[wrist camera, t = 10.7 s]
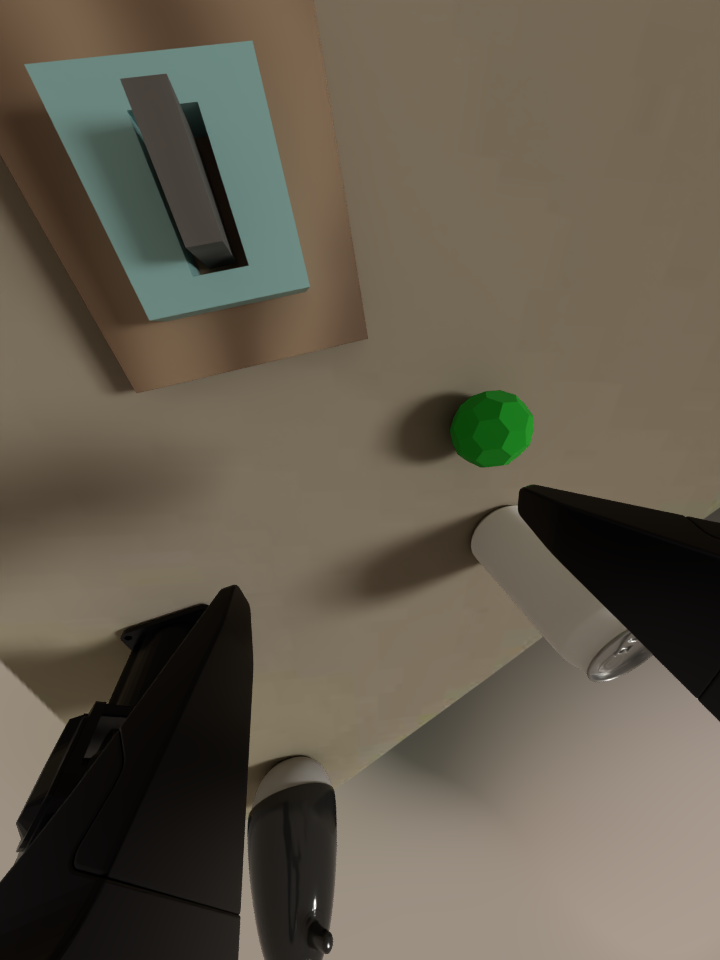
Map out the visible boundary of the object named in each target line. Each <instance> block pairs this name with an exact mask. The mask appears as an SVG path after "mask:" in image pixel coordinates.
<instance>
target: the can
mask: <svg viewBox="0 0 720 960" xmlns="http://www.w3.org/2000/svg"><path fill="white" fill-rule="evenodd" d="M471 550H472V553H473V555H474V556H475V557H476V559H477V560H478V561H479V562H480V563H481V565H482V566H483V567H484V568H485V569H486V570H487V572H488V573H489V574H490V575H491V576H492V577H493V579H494V580H495V581H496V582H497V583H498V584H499V586H500V587H501V588H502V589H503V590H504V591H505V593H506V594H507V595H508V596H509V597H510V598H511V600H512V601H513V602H514V603H515V604H516V605H517V607H518V608H519V609H520V610H521V611H522V612H523V613H524V615H525V616H526V617H527V618H528V619H529V620H530V622H531V623H532V624H533V625H534V626H535V627H536V629H537V630H538V631H539V632H540V633H541V634H542V635H543V637H544V638H545V639H546V640H547V641H548V642H549V643H550V644H551V646H552V647H553V648H554V649H555V650H556V651H557V652H558V654H559V655H560V656H561V657H562V658H563V659H564V660H566V661H567V662H569V663H570V664H572V665H574V666H576V667H577V668H579V669H581V670H582V671H584V672H585V673H586V674H587V676H588V678H589V679H590V680H591V681H593V682H606V681H610V680H613V679H616V678H618V677H620V676H622V675H624V674H626V673H628V672H630V671H632V670H633V669H635V668H636V667H638V666H640V665H641V664H642V663H644V662H645V661H646V660H648V659H649V658H650V657H651V656H652V655H653V654H652V653H651V652H650V651H649V650H648V649H647V648H646V647H645V646H644V645H643V644H642V643H641V642H640V641H639V640H638V639H637V638H636V637H635V636H634V635H633V634H632V633H631V632H630V631H629V630H628V629H627V628H626V627H625V626H624V625H622V624H621V623H620V622H619V621H618V620H617V619H616V618H615V617H614V616H613V615H612V614H611V613H610V612H609V611H608V610H607V609H606V608H605V607H604V606H603V605H602V604H601V603H600V602H599V601H598V600H597V599H596V598H595V597H594V596H593V595H592V594H591V593H590V592H589V591H588V590H587V589H586V588H585V587H584V586H583V585H582V584H581V583H580V582H579V581H578V580H577V579H576V578H575V577H574V576H573V575H572V574H571V573H570V572H569V571H568V570H567V569H566V568H565V567H564V566H563V565H562V564H561V563H560V562H559V561H558V560H557V559H556V558H555V557H554V556H553V555H552V554H551V552H550V551H549V550H548V549H547V548H546V547H545V545H544V544H543V543H542V542H541V541H540V539H539V538H538V537H537V536H536V535H535V533H534V532H533V531H532V530H531V529H530V527H529V526H528V525H527V524H526V522H525V521H524V520H523V519H522V518H521V516H520V515H519V512H518V506H506V507H502V508H499V509H496V510H494V511H493V512H491V513H489V514H488V515H487V516H485V517H484V518H483V519H482V520H481V521H480V523H479V524H478V525H477V527H476V528H475V530H474V532H473V535H472V540H471Z"/></svg>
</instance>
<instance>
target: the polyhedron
mask: <svg viewBox="0 0 720 960" xmlns="http://www.w3.org/2000/svg"><path fill="white" fill-rule="evenodd" d="M450 434H451V439H452V443H453V445H454V448H455V450H456V452H457V454H458V455H459V456H461V457H462V458H464V459H465V460H467V461H468V462H470V463H473V464H475V465H477V466H479V467H492V466H501V465H506V464H509V463H510V462H511V461H513V460H514V459H515V458H517V457H518V456H519V455H520V454H521V453H522V452H523V451H524V450H525V449H526V448H527V447H528V446H529V445H530V442H531V438H532V434H533V415H532V414H531V412H530V411H529V409H528V408H527V406H526V405H525V404H524V403H523V402H522V401H521V400H520V399H519V398H518V397H517V396H516V395H514V394H511V393H507V392H504V391H501V390H498V391H486V392H483V393H480V394H477V395H474V396H472V397H470V398H469V399H468V400H467V401H465V402H464V403H463V404H462V405H460V407H459V408H458V410H457V412H456V414H455V416H454V418H453V421H452V424H451V428H450Z"/></svg>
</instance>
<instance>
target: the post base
mask: <svg viewBox="0 0 720 960" xmlns="http://www.w3.org/2000/svg"><path fill="white" fill-rule="evenodd" d="M243 41H253V45H254V49H255V53H256V58H257V62H258V66H259V71H260V75H261V79H262V83H263V88H264V92H265V96H266V100H267V105H268V109H269V113H270V118H271V122H272V126H273V130H274V135H275V139H276V143H277V147H278V152H279V156H280V160H281V165H282V169H283V173H284V177H285V182H286V186H287V190H288V194H289V199H290V203H291V207H292V212H293V216H294V220H295V224H296V229H297V233H298V237H299V241H300V246H301V250H302V254H303V259H304V263H305V267H306V271H307V276H308V280H309V284H310V288H309V289H308V290H307V291H306V292H302V293H297V294H293V295H288V296H283V297H279V298H274V299H269V300H265V301H260V302H255V303H250V304H246V305H241V306H236V307H232V308H227V309H222V310H217V311H213V312H208V313H203V314H199V315H194V316H189V317H185V318H180V319H175V320H170V321H149V319H148V317H147V315H146V313H145V311H144V308H143V306H142V304H141V302H140V300H139V298H138V296H137V294H136V292H135V290H134V288H133V286H132V284H131V282H130V280H129V278H128V276H127V274H126V272H125V270H124V268H123V266H122V264H121V261H120V259H119V257H118V255H117V253H116V251H115V249H114V247H113V245H112V243H111V241H110V239H109V237H108V235H107V233H106V231H105V229H104V227H103V225H102V223H101V221H100V219H99V216H98V214H97V212H96V210H95V208H94V206H93V204H92V202H91V200H90V198H89V196H88V194H87V192H86V190H85V188H84V186H83V184H82V182H81V180H80V178H79V176H78V174H77V172H76V169H75V167H74V165H73V163H72V161H71V159H70V157H69V155H68V153H67V151H66V149H65V147H64V145H63V143H62V141H61V139H60V137H59V135H58V133H57V131H56V129H55V127H54V124H53V122H52V120H51V118H50V116H49V114H48V112H47V110H46V108H45V106H44V104H43V102H42V100H41V98H40V96H39V94H38V92H37V90H36V88H35V86H34V84H33V82H32V80H31V77H30V75H29V73H28V71H27V69H26V67H25V65H24V64H32V63H42V62H52V61H61V60H71V59H80V58H90V57H100V56H109V55H119V54H128V53H138V52H148V51H157V50H167V49H176V48H186V47H195V46H205V45H215V44H224V43H234V42H243ZM120 81H121V83H122V86H123V88H124V91H125V93H126V96H127V99H128V101H129V104H130V106H131V109H132V111H133V114H134V116H135V119H136V122H137V124H138V127H139V129H140V132H141V134H142V137H143V140H144V142H145V145H146V147H147V150H148V152H149V155H150V158H151V160H152V163H153V165H154V168H155V170H156V173H157V175H158V178H159V181H160V183H161V186H162V188H163V191H164V193H165V196H166V199H167V201H168V204H169V206H170V209H171V211H172V214H173V217H174V219H175V222H176V224H177V227H178V229H179V232H180V235H181V237H182V240H183V242H184V245H185V247H186V248H187V249H188V250H189V251H190V252H191V253H192V254H193V257H194V259H195V262H196V265H197V267H198V270H199V272H200V275H204V274H209V273H214V272H219V271H224V270H229V269H235V268H240V267H245V266H249V264H248V261H247V258H246V255H245V252H244V248H243V245H242V242H241V239H240V236H239V232H238V229H237V226H236V223H235V220H234V216H233V213H232V210H231V207H230V204H229V200H228V197H227V194H226V191H225V188H224V184H223V181H222V178H221V175H220V172H219V168H218V165H217V162H216V159H215V156H214V152H213V149H212V146H211V143H210V140H209V136H207V137H200V138H195V137H194V135H193V133H192V131H191V128H190V126H189V124H188V121H187V119H186V117H185V115H184V112H183V110H182V108H181V105H180V103H179V101H178V98H177V96H176V94H175V92H174V89H173V87H172V85H171V82H170V80H169V78H168V76H167V74H158V75H149V76H140V77H131V78H122V79H120ZM0 155H1V157H2V159H3V160H4V162H5V164H6V166H7V167H8V169H9V171H10V173H11V174H12V176H13V178H14V180H15V181H16V183H17V185H18V187H19V188H20V190H21V192H22V194H23V195H24V197H25V199H26V201H27V202H28V204H29V206H30V208H31V209H32V211H33V213H34V215H35V216H36V218H37V220H38V222H39V223H40V225H41V227H42V229H43V230H44V232H45V234H46V236H47V237H48V239H49V241H50V243H51V245H52V246H53V248H54V250H55V252H56V253H57V255H58V257H59V259H60V260H61V262H62V264H63V266H64V267H65V269H66V271H67V273H68V274H69V276H70V278H71V280H72V281H73V283H74V285H75V287H76V288H77V290H78V292H79V294H80V295H81V297H82V299H83V301H84V302H85V304H86V306H87V308H88V309H89V311H90V313H91V315H92V316H93V318H94V320H95V322H96V323H97V325H98V327H99V329H100V330H101V332H102V334H103V336H104V337H105V339H106V341H107V343H108V345H109V346H110V348H111V350H112V352H113V353H114V355H115V357H116V359H117V360H118V362H119V364H120V366H121V367H122V369H123V371H124V373H125V374H126V376H127V378H128V380H129V381H130V383H131V385H132V387H133V388H134V390H135V392H136V393H140V392H144V391H148V390H153V389H157V388H161V387H165V386H169V385H174V384H178V383H182V382H186V381H191V380H195V379H199V378H203V377H208V376H212V375H216V374H220V373H224V372H229V371H233V370H237V369H241V368H246V367H250V366H254V365H258V364H262V363H267V362H271V361H275V360H279V359H284V358H288V357H292V356H296V355H301V354H305V353H309V352H313V351H317V350H322V349H326V348H330V347H334V346H339V345H343V344H347V343H351V342H355V341H360V340H364V339H368V335H367V329H366V323H365V317H364V310H363V304H362V298H361V292H360V286H359V279H358V273H357V267H356V261H355V255H354V248H353V242H352V236H351V230H350V224H349V217H348V211H347V205H346V199H345V193H344V186H343V180H342V174H341V168H340V162H339V155H338V149H337V143H336V137H335V131H334V124H333V118H332V112H331V106H330V100H329V93H328V87H327V81H326V75H325V69H324V62H323V56H322V50H321V44H320V38H319V31H318V25H317V19H316V13H315V7H314V0H0Z"/></svg>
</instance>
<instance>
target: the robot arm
mask: <svg viewBox="0 0 720 960" xmlns="http://www.w3.org/2000/svg"><path fill="white" fill-rule="evenodd" d="M518 512H519V515H520V516H521V518H522V519H523V520H524V521H525V522H526V524H527V525H528V526H529V527H530V529H531V530H532V531H533V532H534V533H535V535H536V536H537V537H538V538H539V539H540V541H541V542H542V543H543V544H544V545H545V547H546V548H547V549H548V550H549V551H550V552H551V554H552V555H553V556H554V557H555V558H556V559H557V560H558V561H559V562H560V563H561V564H562V565H563V566H564V567H565V568H566V569H567V570H568V571H569V572H570V573H571V574H572V575H573V576H574V577H575V578H576V579H577V580H578V581H579V582H580V583H581V584H582V585H583V586H584V587H585V588H586V589H587V590H588V591H589V592H590V593H591V594H592V595H593V596H594V597H595V598H596V599H597V600H598V601H599V602H600V603H601V604H602V605H603V606H604V607H605V608H606V609H607V610H608V611H609V612H610V613H611V614H612V615H613V616H614V617H615V618H616V619H617V620H618V621H619V622H620V623H621V624H622V625H624V626H625V627H626V628H627V629H628V630H629V631H630V632H631V633H632V634H633V635H634V636H635V637H636V638H637V639H638V640H639V641H640V642H641V643H642V644H643V645H644V646H645V647H646V648H647V649H648V650H649V651H650V652H651V653H652V654H653V655H654V656H655V657H656V658H657V659H658V660H659V661H660V662H661V663H662V664H663V665H664V666H665V667H666V668H667V669H668V670H669V671H670V672H671V673H672V674H673V675H674V676H675V677H676V678H677V679H678V680H679V681H680V682H681V683H682V684H683V685H684V686H685V687H686V688H687V689H688V690H689V691H690V692H691V693H692V694H693V695H694V696H695V697H696V698H698V700H699V701H700V702H701V703H702V704H703V705H704V706H705V707H706V708H707V709H708V710H709V711H710V712H711V713H712V714H713V715H714V716H715V717H716V718H717V719H718V720H719V721H720V523H718V522H713V521H708V520H703V519H698V518H693V517H689V516H688V517H685V516H683V515H679V514H674V513H669V512H664V511H659V510H655V509H650V508H645V507H640V506H635V505H630V504H626V503H621V502H616V501H611V500H606V499H602V498H597V497H592V496H587V495H582V494H577V493H573V492H568V491H563V490H558V489H553V488H549V487H544V486H539V485H529V486H526V487H523V488H521V489H520V491H519V498H518ZM120 639H121V640H122V641H123V642H124V643H125V644H126V645H127V646H128V647H129V648H130V649H131V650H132V652H131V654H130V656H129V658H128V661H127V663H126V665H125V667H124V670H123V672H122V674H121V676H120V678H119V681H118V683H117V685H116V687H115V690H114V692H113V694H112V696H111V698H110V701H109V703H108V704H106V702H99V701H96V702H95V704H94V705H93V707H92V709H91V710H90V712H89V714H84V715H81V716H78V717H75V718H72V719H70V720H69V721H68V723H67V725H66V726H65V729H64V730H63V732H62V734H61V736H60V738H59V740H58V742H57V743H56V745H55V747H54V749H53V751H52V753H51V755H50V757H49V759H48V761H47V762H46V764H45V767H44V768H43V770H42V772H41V774H40V776H39V778H38V780H37V782H36V784H35V786H34V788H33V790H32V792H31V794H30V796H29V798H28V800H27V802H26V804H25V806H24V808H23V810H22V812H21V814H20V816H19V818H18V820H17V822H16V825H17V828H18V831H19V834H20V837H21V841H20V843H19V845H18V848H17V850H16V852H19V854H18V857H17V859H16V861H15V864H14V866H13V867H12V868H11V869H10V871H9V872H8V873H7V874H6V876H5V877H4V878H3V879H2V880H1V882H0V960H238V951H239V934H240V916H239V914H240V909H241V891H242V873H243V853H244V835H245V816H246V797H247V779H248V760H249V741H250V722H251V703H252V685H253V646H252V629H251V612H250V606H249V603H248V601H247V599H246V598H245V596H244V594H243V593H242V591H241V590H240V588H239V587H238V586H237V585H231V586H229V587H226V588H223V589H221V590H220V591H219V593H218V594H217V595H216V597H215V598H214V599H213V601H212V602H211V604H210V605H199V606H196V607H193V608H190V609H187V610H184V611H181V612H178V613H175V614H172V615H169V616H166V617H163V618H160V619H157V620H154V621H151V622H148V623H145V624H142V625H139V626H136V627H132V628H129V629H127V630H125V631H124V632H123V633H122V635H121V638H120Z"/></svg>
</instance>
